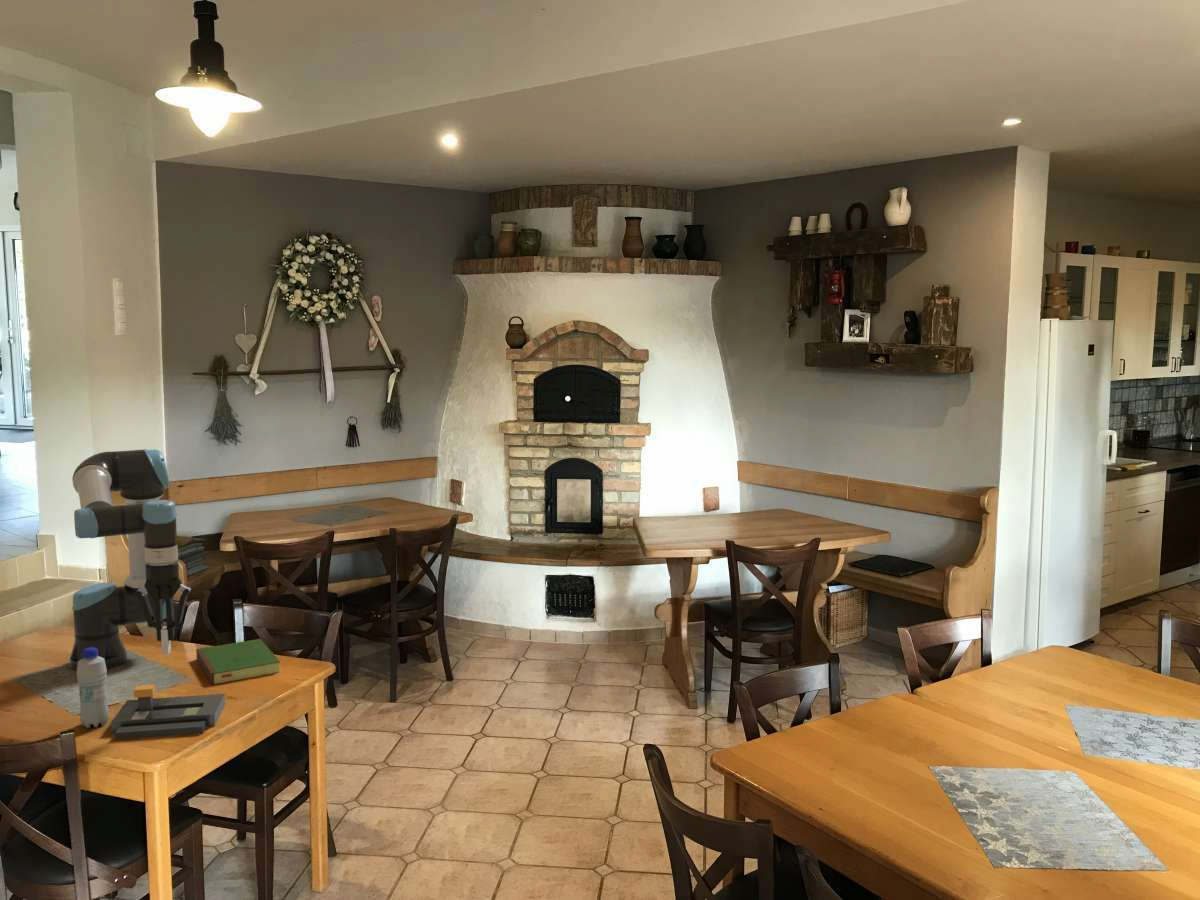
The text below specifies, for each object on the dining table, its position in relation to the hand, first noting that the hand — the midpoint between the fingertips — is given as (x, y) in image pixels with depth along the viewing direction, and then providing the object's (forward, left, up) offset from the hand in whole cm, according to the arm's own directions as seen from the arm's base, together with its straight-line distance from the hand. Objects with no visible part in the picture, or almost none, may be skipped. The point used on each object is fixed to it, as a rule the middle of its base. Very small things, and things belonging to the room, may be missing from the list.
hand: (166, 652), depth 239 cm
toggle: (0, -6, -16) cm, 17 cm away
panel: (0, 0, -17) cm, 17 cm away
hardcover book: (-37, +11, -18) cm, 43 cm away
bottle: (+1, -17, -18) cm, 25 cm away
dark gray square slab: (0, 0, -17) cm, 17 cm away
